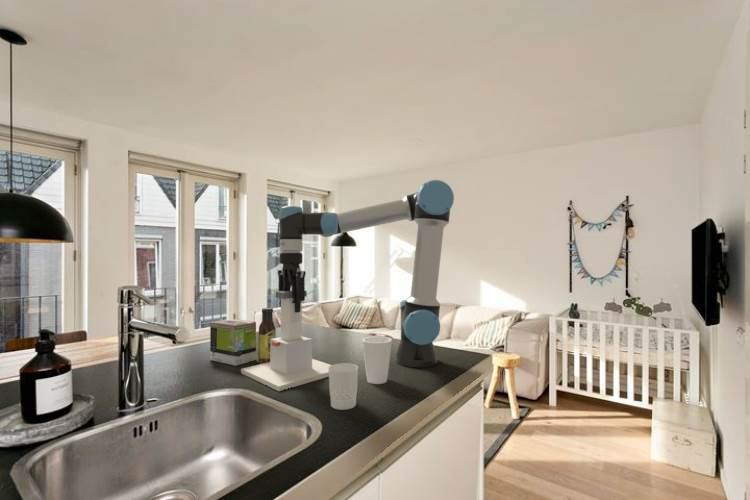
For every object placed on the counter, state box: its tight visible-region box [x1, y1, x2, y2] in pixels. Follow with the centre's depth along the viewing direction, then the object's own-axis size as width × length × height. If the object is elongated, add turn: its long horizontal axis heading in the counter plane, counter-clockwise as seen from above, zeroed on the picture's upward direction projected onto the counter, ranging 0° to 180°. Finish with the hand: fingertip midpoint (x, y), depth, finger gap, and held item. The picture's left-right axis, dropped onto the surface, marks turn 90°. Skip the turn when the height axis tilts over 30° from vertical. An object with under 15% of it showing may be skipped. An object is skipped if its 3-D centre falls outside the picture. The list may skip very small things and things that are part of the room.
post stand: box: [240, 335, 332, 392], centre depth 128 cm, size 24×24×12 cm
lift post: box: [275, 289, 308, 342], centre depth 128 cm, size 5×9×22 cm, turn 135°
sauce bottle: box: [257, 307, 277, 364], centre depth 141 cm, size 7×6×20 cm
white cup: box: [328, 362, 359, 411], centre depth 101 cm, size 8×8×10 cm
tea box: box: [209, 318, 257, 367], centre depth 143 cm, size 15×10×15 cm, turn 58°
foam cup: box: [361, 335, 393, 385], centre depth 120 cm, size 10×9×13 cm
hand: (291, 320), depth 128 cm, fingers closed on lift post, 5 cm apart
